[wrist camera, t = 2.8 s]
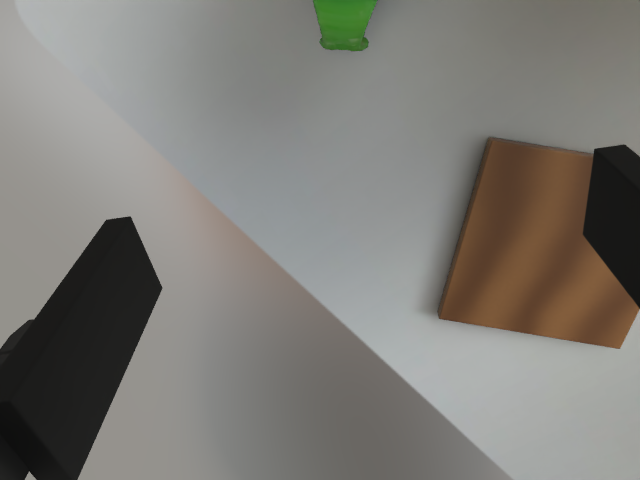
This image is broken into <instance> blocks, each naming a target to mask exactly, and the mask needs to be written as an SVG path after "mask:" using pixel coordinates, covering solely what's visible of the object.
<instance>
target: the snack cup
mask: <svg viewBox="0 0 640 480" xmlns="http://www.w3.org/2000/svg"><path fill="white" fill-rule="evenodd" d="M313 2H314V7H315V11H316V13H317V18H318V23H319V25H320V30H321V35H322V38H321V39H320V44H321V46H322V47H323V48H325V49H330V50H335V49H339V50H350V51H362V50H364V49H365V48H367V47H368V40H367V39H366V38H365V37H364V33H365V29H366V27H367V24H368V21H369V19H370V17H371V15H372V11H373V9H374V7H375V5H376V2H377V0H313Z"/></svg>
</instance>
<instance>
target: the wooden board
mask: <svg viewBox="0 0 640 480" xmlns="http://www.w3.org/2000/svg"><path fill="white" fill-rule="evenodd" d="M593 155H594V154H590V153H584V152H578V151H571V150H565V149H559V148H553V147H547V146H541V145H535V144H529V143H523V142H517V141H510V140H504V139H498V138H492V137H489V138H488V141H487V145H486V148H485V152H484V155H483V158H482V162H481V165H480V169H479V172H478V175H477V179H476V182H475V186H474V189H473V193H472V196H471V199H470V203H469V206H468V210H467V213H466V216H465V220H464V223H463V227H462V230H461V233H460V237H459V240H458V244H457V247H456V251H455V254H454V257H453V261H452V264H451V268H450V271H449V274H448V278H447V281H446V285H445V288H444V291H443V295H442V298H441V302H440V305H439V309H438V316H439V319H444V320H450V321H456V322H462V323H468V324H474V325H480V326H486V327H492V328H498V329H504V330H510V331H516V332H522V333H528V334H534V335H540V336H546V337H552V338H558V339H563V340H569V341H575V342H581V343H587V344H593V345H599V346H605V347H611V348H617V349H620V347H621V345H622V343H623V341H624V339H625V337H626V335H627V333H628V331H629V329H630V327H631V325H632V323H633V321H634V319H635V317H636V315H637V313H638V311H639V309H640V308H639V307H638V306H637V304H636V303H635V302H634V301H633V299H632V298H631V297H630V295H629V294H628V293H627V292H626V290H625V289H624V288H623V286H622V285H621V284H620V282H619V281H618V280H617V279H616V277H615V276H614V275H613V273H612V272H611V271H610V270H609V268H608V267H607V266H606V264H605V263H604V262H603V260H602V259H601V258H600V257H599V255H598V254H597V253H596V251H595V250H594V249H593V247H592V246H591V245H590V244H589V242H588V241H587V240H586V238H585V237H584V236H583V235H582V234H583V227H584V220H585V213H586V206H587V198H588V191H589V184H590V177H591V170H592V163H593Z"/></svg>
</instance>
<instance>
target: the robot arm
mask: <svg viewBox="0 0 640 480" xmlns="http://www.w3.org/2000/svg"><path fill="white" fill-rule="evenodd" d="M582 235H583V236H584V237H585V238H586V240H587V241H588V242H589V244H590V245H591V246H592V247H593V249H594V250H595V251H596V253H597V254H598V255H599V257H600V258H601V259H602V260H603V262H604V263H605V264H606V266H607V267H608V268H609V270H610V271H611V272H612V273H613V275H614V276H615V277H616V279H617V280H618V281H619V282H620V284H621V285H622V286H623V288H624V289H625V290H626V292H627V293H628V294H629V295H630V297H631V298H632V299H633V301H634V302H635V303H636V304H637V306H638V307H639V308H640V157H639V156H638V155H637V154H636V153H634V152H633V151H632V150H631V149H629V148H628V147H627V146H626V145H618V146H611V147H604V148H598V149H594V155H593V163H592V170H591V177H590V184H589V191H588V198H587V206H586V213H585V220H584V227H583V234H582ZM161 290H162V286H161V284H160V281H159V279H158V277H157V275H156V273H155V270H154V268H153V266H152V263H151V261H150V259H149V257H148V255H147V252H146V250H145V248H144V245H143V243H142V241H141V239H140V237H139V234H138V232H137V230H136V228H135V225H134V223H133V221H132V218H131V217H123V218H116V219H110V220H106V221H105V222H104V224H103V225H102V226H101V228H100V229H99V231H98V232H97V234H96V235H95V236H94V238H93V239H92V240H91V242H90V243H89V245H88V246H87V247H86V249H85V250H84V252H83V253H82V254H81V256H80V257H79V259H78V260H77V261H76V262H75V264H74V265H73V267H72V268H71V269H70V271H69V272H68V274H67V275H66V277H65V278H64V279H63V280H62V282H61V283H60V285H59V286H58V287H57V289H56V290H55V292H54V293H53V294H52V296H51V297H50V299H49V300H48V301H47V303H46V304H45V306H44V307H43V308H42V310H41V311H40V313H39V314H38V315H37V317H36V318H35V319H34V320H28V321H27V322H26V323H25V324H24V325H22V326H21V327H20V328H19V329H18V330H16V331H15V332H14V333H13V334H12V335H11V336H10V337H9V338H8V339H7V341H6V342H5V344H4V345H3V346H2V348H1V349H0V480H25V478H26V476H27V474H28V472H29V471H30V473H31V474H32V475H33V476H34V477H35V478H36V479H37V480H77V479H78V477H79V475H80V472H81V470H82V468H83V465H84V464H85V461H86V459H87V457H88V454H89V452H90V450H91V448H92V445H93V443H94V441H95V439H96V437H97V434H98V432H99V430H100V427H101V425H102V423H103V421H104V418H105V416H106V414H107V412H108V409H109V407H110V405H111V403H112V401H113V398H114V396H115V394H116V391H117V389H118V387H119V385H120V382H121V380H122V378H123V376H124V373H125V371H126V369H127V367H128V365H129V362H130V360H131V358H132V355H133V353H134V351H135V348H136V346H137V344H138V342H139V340H140V337H141V335H142V333H143V331H144V328H145V326H146V324H147V322H148V319H149V317H150V315H151V313H152V310H153V308H154V306H155V304H156V301H157V299H158V297H159V295H160V292H161Z"/></svg>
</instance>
